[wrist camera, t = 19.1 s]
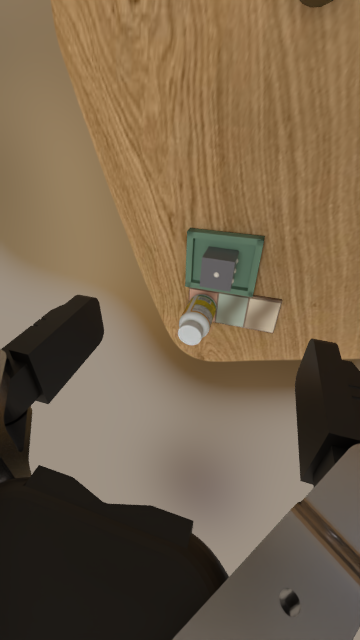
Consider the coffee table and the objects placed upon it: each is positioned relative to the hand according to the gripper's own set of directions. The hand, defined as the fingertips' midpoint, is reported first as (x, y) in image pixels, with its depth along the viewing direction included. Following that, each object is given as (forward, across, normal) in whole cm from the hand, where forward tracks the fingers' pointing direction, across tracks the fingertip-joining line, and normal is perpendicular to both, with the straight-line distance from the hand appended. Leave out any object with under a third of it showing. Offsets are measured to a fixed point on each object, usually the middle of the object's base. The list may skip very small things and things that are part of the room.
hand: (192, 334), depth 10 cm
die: (+36, +4, +12) cm, 38 cm away
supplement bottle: (+35, +6, +21) cm, 42 cm away
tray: (+36, +4, +12) cm, 38 cm away
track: (+36, +1, +21) cm, 42 cm away
